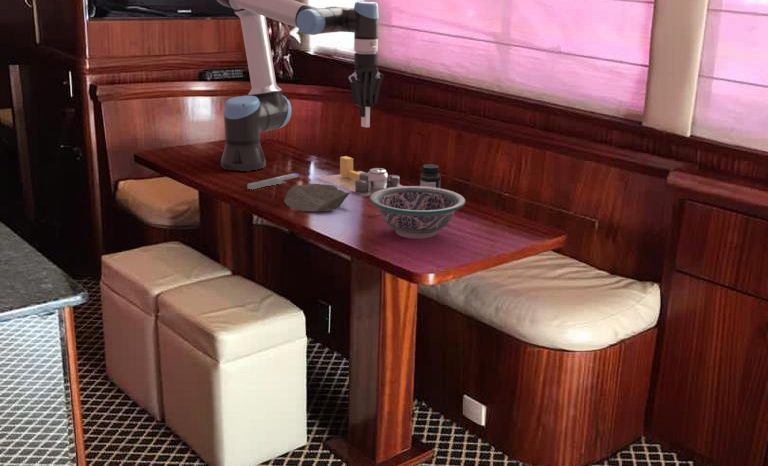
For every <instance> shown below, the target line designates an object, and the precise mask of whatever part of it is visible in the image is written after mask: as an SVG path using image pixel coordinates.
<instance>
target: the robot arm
mask: <svg viewBox="0 0 768 466" xmlns="http://www.w3.org/2000/svg"><path fill="white" fill-rule="evenodd" d="M216 2H217V3H219V4H220V5H222V6H224V7H227V8H230V9H232V10H233V11H234V14H235V15H236V16H238V17H239V19H240V25H241V31H242V36H243V41H244V48H245V49H244V50H245V56H246V60H247V66H248V73H249V80H250V84H251V89H250V91H249V92H248V95H242V96H239V95H238V96H233V97H231V98H229V99H227V100H226V101H225V102H224V105H223V106H224V109H223V118H224V136H225V137H224V139H225V142H224V143H225V146H224V149H223V152H222V156H221V158H220V167H221V166H222V167H223V168H226V169H230V170H240V171H247V172H252V171H251V170H256V171H258V170H257V169H261V168H263V169H265V168H266V167H267V162H266V157H265V154H264V151H263V149H262V146H261V133H265V132H270V131H277V130H279V129H281V128H283V127H285V126H286V125H288V123H289V122H290V119H291V117H292V105H291V102H290V100H289V99H287V96H285V95H283V91H282V90H283V89H282V88H281V87H279V86H278V84H277V81H276V80H277V79H276V74H275V68H274V67H275V66H274V62H273V56H272V49H271V42H270V37H269V30H268V23H267V18H268V19H271V20H273V21H277V22H280V23H282V24H286V25H289V26H292V27H295V28H297V29H299V31H300V32H301V33H302V34H304V35H310V36H315V35H321V34H328V33H330V34H331V33H339V32H340V33H341V32H342V33H354V35H353V36H354V39H353V40H354V42H353V51H354V52H355V53H354V57H353V60H354V62H353V63H354V64H353V65H354V70H353V73H352V74H351V75H347V80H348V82H349V84H350V88H351V94H352V98H353V100H352V101H353V104H354V105H355V106H358V107H359V117H360V127H363V128H370V127H371V126H370V125H371V117H372V113H373V112H372V111H373V109H372V108H373V107H374V106H375V105H377V104H378V100H379V95H380V90H381V85H382V81H383V79H384V77H385V75H384V73H381V72H380V71H379V68H378V65H379V54H378V51H379V19H380V15H379V14H380V13H379V5H378V3H377V2H375V1H356V2H355V3H354V6H353V7H342V6H327V7H322V8H320V7H319V8H318V7H315V6H312V5H307V4H306V3H303V2H299V1H296V0H216ZM265 166H266V167H265ZM264 167H265V168H264ZM261 170H262V169H261Z"/></svg>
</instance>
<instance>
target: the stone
mask: <svg viewBox="0 0 768 466" xmlns="http://www.w3.org/2000/svg"><path fill="white" fill-rule="evenodd" d="M349 195H350V192H345V191H344V190H342V189H338V187H337V186H336V185H335V186H334V184H333V185H331V184H325V183H323V184H322V183H309V184H305V185H302V184H301V185H296V186H292V187H291V188H289V189H288V190H287V192H286V195H285V198H284V200H283V202H284V204H285V206H286V205H287V206H289V207H291V208H294V209H297V210H301V211H300V212H326V211H330V210H331V211H332V210H333V211H334V210H338V209H339V208H340V207H341V206H342V204H343V203H344V202H345V200H346V198H347V197H349ZM287 206H286V207H287ZM291 208H290V209H291ZM297 210H296V211H297Z"/></svg>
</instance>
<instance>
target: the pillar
mask: <svg viewBox="0 0 768 466" xmlns="http://www.w3.org/2000/svg"><path fill="white" fill-rule="evenodd" d="M298 177H300V174H299V173H295V172H294V173H290V174H289V173H288V174H284V175H281V176H276V177H272V178H267V179H263V180H258V181H254V182H250V183H249V182H248V183H247V190H248V189H252V190H253V189H257V188H261V187H265V186H271V185H275V186H277V185H276V184H279V185H282V183H283V184H287V183H286V182H287V181H288V180H292V179H295V178H298ZM286 180H287V181H286ZM271 187H272V186H271Z"/></svg>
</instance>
